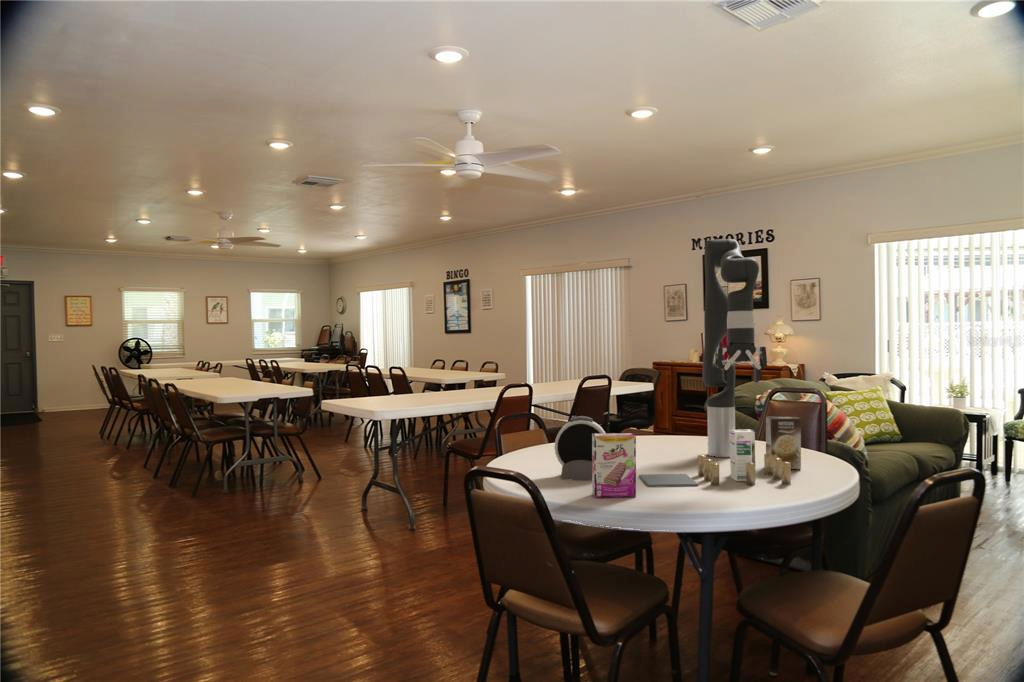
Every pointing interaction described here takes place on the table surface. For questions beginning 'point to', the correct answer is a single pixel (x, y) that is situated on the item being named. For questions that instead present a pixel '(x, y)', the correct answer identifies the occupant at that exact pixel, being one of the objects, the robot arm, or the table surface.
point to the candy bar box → (614, 465)
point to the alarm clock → (576, 447)
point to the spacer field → (747, 470)
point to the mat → (668, 480)
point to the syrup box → (741, 452)
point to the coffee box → (784, 439)
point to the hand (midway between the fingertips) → (741, 382)
